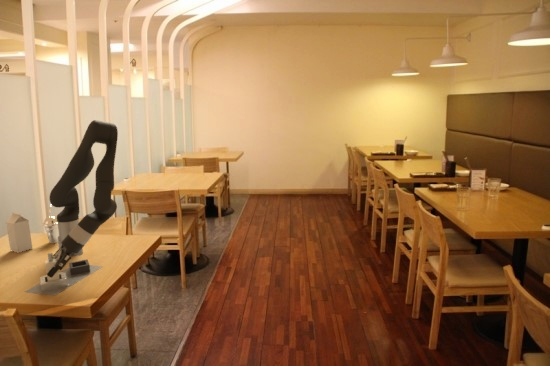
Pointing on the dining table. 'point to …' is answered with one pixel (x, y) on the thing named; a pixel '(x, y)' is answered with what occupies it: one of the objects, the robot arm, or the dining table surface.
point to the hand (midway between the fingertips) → (48, 272)
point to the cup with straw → (51, 227)
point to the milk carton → (19, 233)
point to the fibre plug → (49, 265)
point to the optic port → (53, 282)
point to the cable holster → (79, 267)
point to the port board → (70, 281)
